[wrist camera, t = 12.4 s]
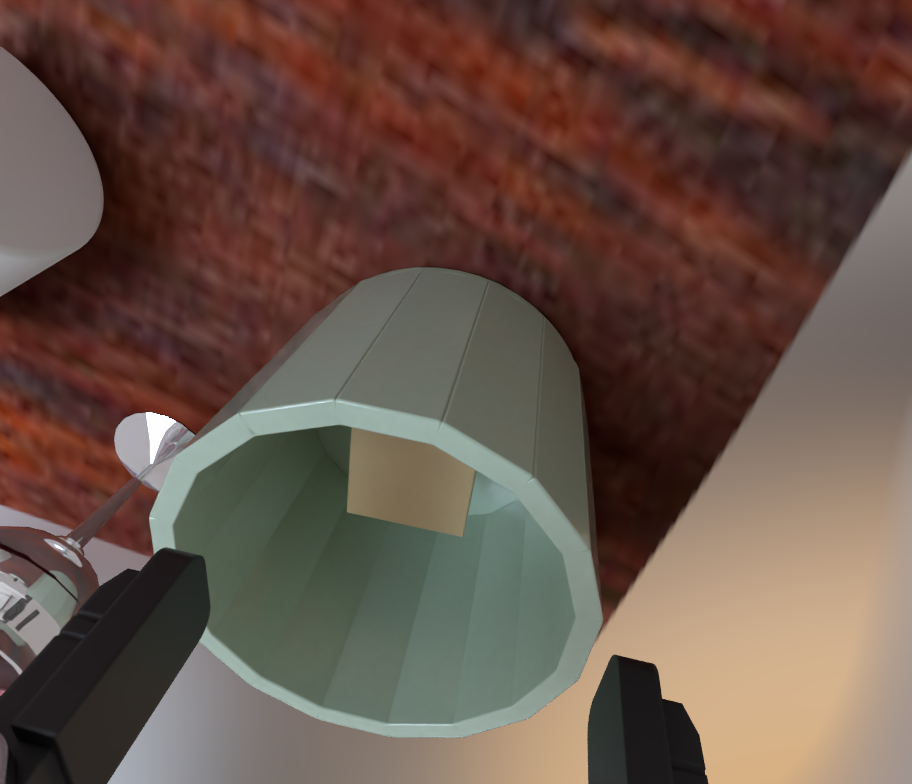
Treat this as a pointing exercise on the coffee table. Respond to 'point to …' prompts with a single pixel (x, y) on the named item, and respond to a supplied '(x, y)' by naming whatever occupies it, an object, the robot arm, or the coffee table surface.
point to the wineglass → (71, 549)
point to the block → (408, 483)
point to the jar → (392, 544)
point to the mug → (41, 178)
